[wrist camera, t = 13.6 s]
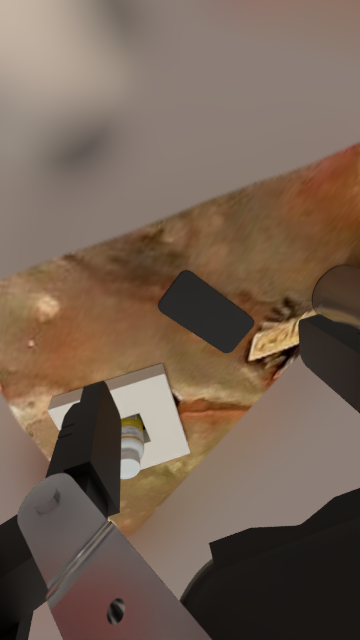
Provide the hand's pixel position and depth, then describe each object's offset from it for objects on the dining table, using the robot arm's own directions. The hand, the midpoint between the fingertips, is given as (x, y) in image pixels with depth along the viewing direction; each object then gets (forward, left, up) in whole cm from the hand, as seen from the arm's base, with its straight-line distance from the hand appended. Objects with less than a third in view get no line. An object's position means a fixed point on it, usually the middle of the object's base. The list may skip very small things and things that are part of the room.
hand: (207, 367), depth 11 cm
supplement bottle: (+12, +26, -28) cm, 40 cm away
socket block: (+12, +26, -28) cm, 40 cm away
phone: (-6, +11, -29) cm, 31 cm away
